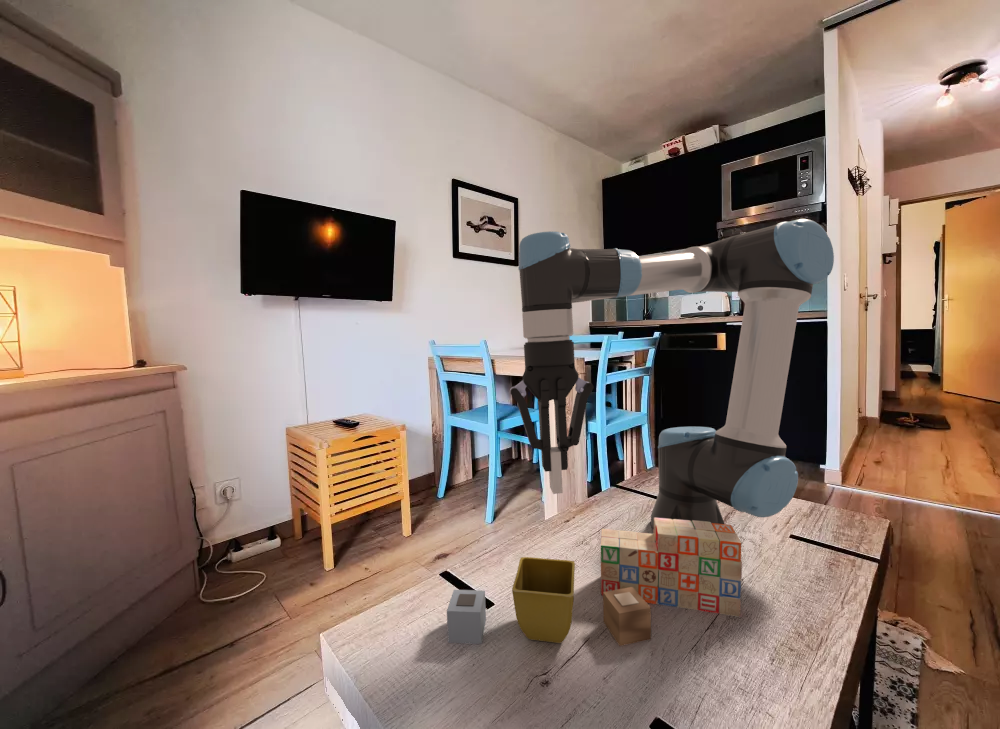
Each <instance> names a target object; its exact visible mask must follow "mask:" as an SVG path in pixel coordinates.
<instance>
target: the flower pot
mask: <svg viewBox="0 0 1000 729" xmlns="http://www.w3.org/2000/svg"><path fill="white" fill-rule="evenodd" d="M575 569H576V563H575V561H574V560H567V559H555V558H542V557H529V556H524V557H523V556H522V557H520V558H519V562H518V566H517V570H516V571H517V572H516V575H515V578H514V581H513V585H512V588H511V593H512V598H513V605H514V611H515V618H516V621H517V625H518V626H519V629H520V630H521V631H522V633H523V635H524V636H525V637H526V638H527V639H528V640H530V641H531V640H532V641H537V642H538V641H539V642H547V643H554V644H555V643H556V644H561V643H563V642H565V640H566V638H567V637H568V635H569V633H570V630H571V626H572V620H573V610H574V609H573V608H574V600H575V599H574V598H575V597H574V596H575V572H576V571H575Z"/></svg>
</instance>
